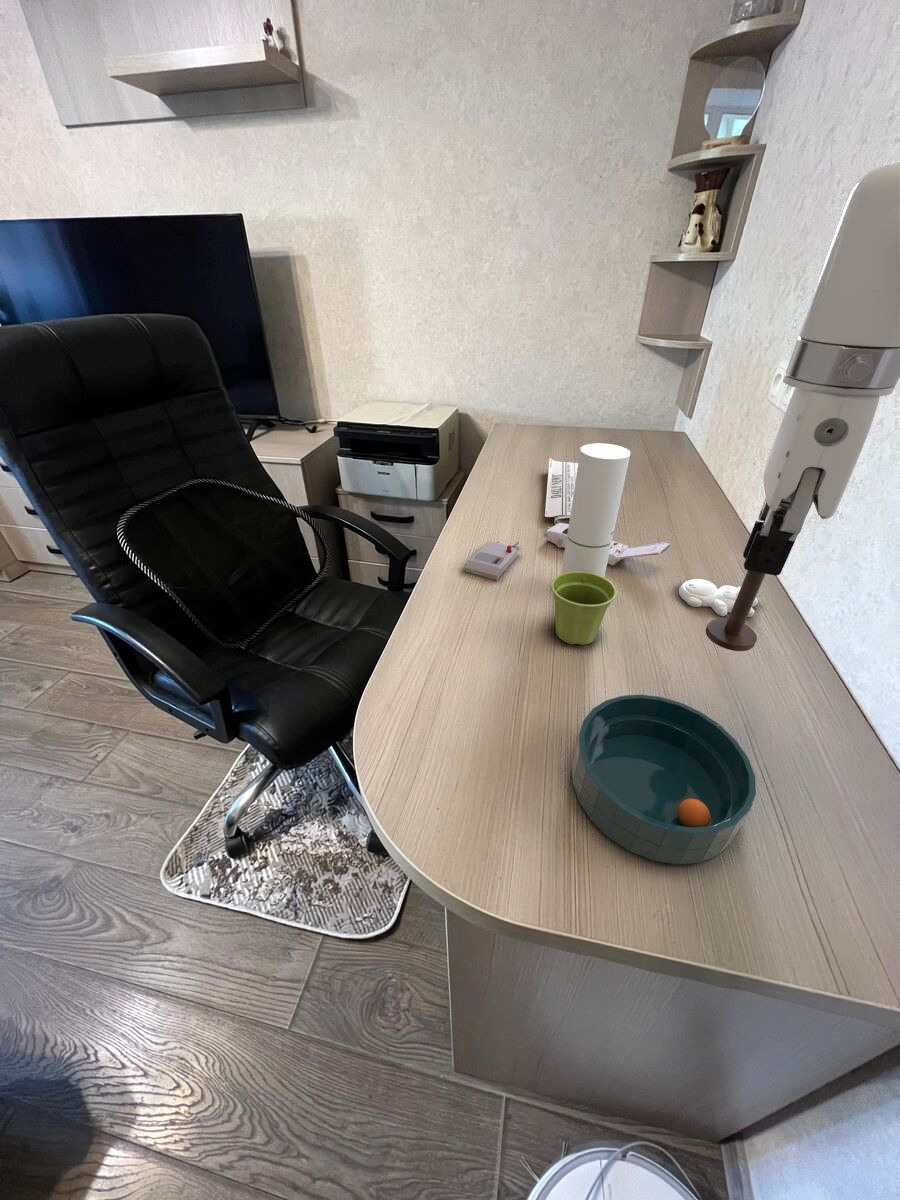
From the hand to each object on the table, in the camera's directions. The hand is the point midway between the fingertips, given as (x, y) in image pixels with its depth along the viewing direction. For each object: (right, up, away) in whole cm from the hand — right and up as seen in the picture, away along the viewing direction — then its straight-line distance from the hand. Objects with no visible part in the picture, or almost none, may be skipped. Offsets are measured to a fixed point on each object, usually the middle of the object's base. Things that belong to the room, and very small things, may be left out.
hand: (760, 564), depth 50 cm
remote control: (-23, +4, +46) cm, 52 cm away
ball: (-6, -25, 0) cm, 26 cm away
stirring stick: (0, -8, +5) cm, 9 cm away
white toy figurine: (+15, -4, +35) cm, 39 cm away
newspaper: (-2, +22, +72) cm, 76 cm away
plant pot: (-12, -9, +28) cm, 32 cm away
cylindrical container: (-8, -2, +38) cm, 39 cm away
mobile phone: (-2, +5, +49) cm, 49 cm away
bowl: (-9, -25, +5) cm, 27 cm away
